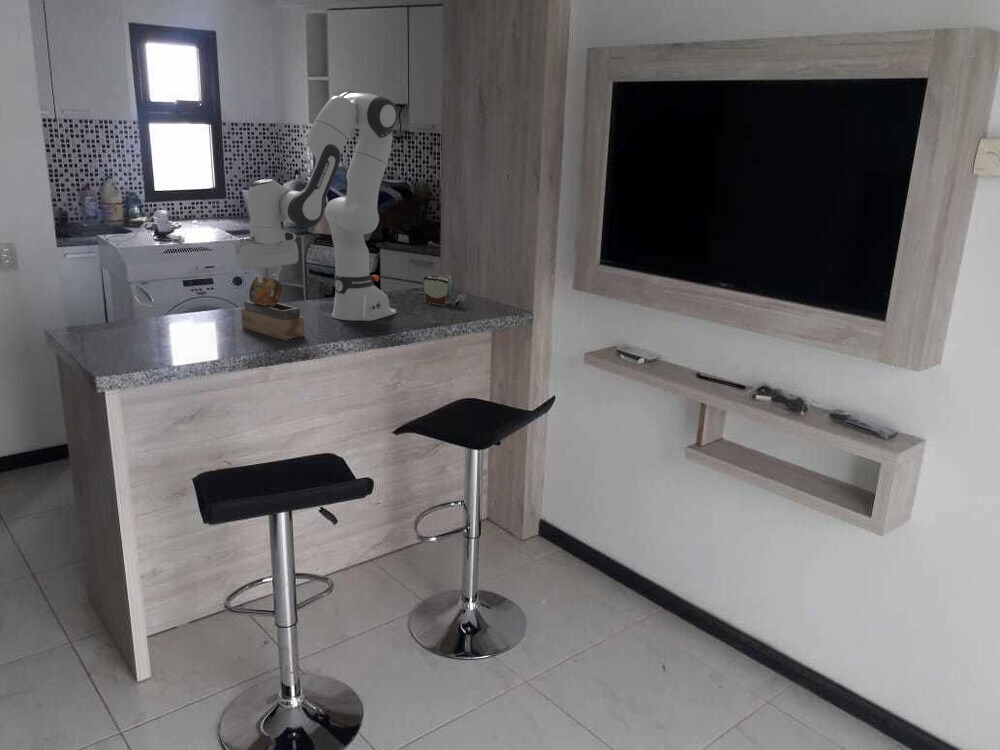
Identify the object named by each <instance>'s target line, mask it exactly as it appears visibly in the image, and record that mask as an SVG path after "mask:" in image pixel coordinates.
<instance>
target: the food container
mask: <svg viewBox="0 0 1000 750" xmlns="http://www.w3.org/2000/svg"><path fill="white" fill-rule="evenodd" d="M421 278H422V279H421V281H422V282H423V293H424V302H428V303H427V304H431V303H432V304H433V305H436V306H444V307H447V306H449V301H450V293H451V285H452V284H453V279H452V277H451V276H450V275H447V274H446V275H445V274H424V275H422V277H421Z"/></svg>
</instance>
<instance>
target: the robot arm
mask: <svg viewBox="0 0 1000 750" xmlns="http://www.w3.org/2000/svg"><path fill="white" fill-rule="evenodd" d="M397 116H398V113H397V107H396V105H395V104H394V102H393V101H392V100H391V99H389V98H386V97H384V96H381V95H380V96H379V95H377V94H373V93H369V92H355V91H346V92H343V93H340V94H339V95H335V96H333V97H331V98H329V100H328V101H327V102H326V103H325V104H324V106H323V107H322V108H321V110H320V111H319V113H318V114H317V116H316V118H315V120H313V121H314V122H312V123H313V124H312V125H311V126H310V129H309V132H308V134H307V135H308V136H307V139H306V143H307V147H308V149H309V151H310V153H311V154H312V155H313V156H314V159H315V165H314V167H313V169H312V173H311V175H310V178H309V180H308V181H307V184H306V187H304V189H302V190H301V191H298V190H294V189H291V188H288V187H287V186H284V185H282V184H280V183H278V182H277V181H276V179H274V178H264V179H263V178H262V179H257V180H255V181H253V182H251V183H250V185H249V188H248V194H247V195H248V196H247V199H248V200H247V203H248V208H247V209H248V213H249V217H250V220H249V235H250V236H249V237H247V236H246V237H241V238H238V240H236V241H235V243H234V249H235V253H234V266H235V268H236V269H237V270H238V271H239V270H240V271H251V270H253V271H254V274H255V275H256V278H257V277H258V282H259V283H265V282H266V280H265V279H266V278H267V277H266V276H263V274H262V272H263V269H264V268H272V267H273V269H274V272H273V274H271V279H273V280H276V281H278V282H279V279H280V277H279V276H280V274H281V271H282V269H283V268H282V267H283V266H287V265H293V264H294V265H295V264H297V263H298V262H299V248H298V244H297V241H295V240H296V239H297V235H296V233H294V232H291V231H289V230H285V229H282V228H281V227H282V226H281V225H282V224H281V223H282V222H287V223H290V224H294V225H296V226H299V227H301V228H303V229H304V228H305V229H310V228H313V227H315V226H316V225H318V224H319V223H320V222H321V220H322V218H323V217H324V216H325V219H326V221H327V224H328V226H329V231H330V235H331V239H332V243H333V244H332V245H333V249H334V263H335V264H334V265H335V274H334V276H333V277H334V281H333V283H334V290H335V293H334V294H335V295H334V302H333V309H332V313H331V317H332V318H333V319H336V320H341V321H368V322H371V321H372V322H373V321H376V320H379V319H382V318H386V317H389V316H393V315H396V314H397V310H396V309H394V308H392V307H390V299H389V296H388V295H387V294H386V293H384V292H383V291H382V290H380V289H379V288H378V287H377V286H376V285H374V281H375V282H379V280H380V277H379V275H376V274H372V275H371V274H370V252H369V248H368V246H367V244H366V241H365V237H364V235H368V234H371V233H372V232H374V231H375V230H376V229H377V228H378V226H379V222H380V215H379V212H378V201H379V192H380V187H381V185H382V184H381V183H382V180H383V177H384V174H385V171H386V168H387V165H388V162H389V158H390V154H391V149H392V143H393V135H392V131H393V129H394V127H395V125H396V122H397ZM354 129H357V130H359V139H358V141H357V143H356V145H355V148H354V151H353V154H352V158H351V160H350V163H349V165H348V169H347V172H346V180H347V188H346V196H339V197H337V198H333V199H331V200H329V202H328V203H327V205H326V199H327V195H328V193H329V191H330V188H331V186H332V184H333V182H334V180H335V179H334V178H335V176H336V174H337V172H338V169H339V165H340V162H341V157H342V153H343V151H344V148H345V146H346V144H347V142H348V140H349V139H350V136H351V134H352V131H353V130H354ZM325 205H326V206H325Z"/></svg>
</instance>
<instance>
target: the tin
mask: <svg viewBox="0 0 1000 750" xmlns="http://www.w3.org/2000/svg"><path fill="white" fill-rule="evenodd" d="M271 278H272V277H271ZM271 278H270V277H269V278H268V277H266V279H265V280H266V282H265V283H259V282H258V277H257V276H256V277H255V279H254V280H253V281H252V283H251V285H250V289H249V301H250V300H251V302H252V303H256V304H260V305H263V306H268V307H273V306H275V305H276V304H277V303H279V300H280V297H281V294H282V290H283V289H282V288H283V287H282V284H281V283H280V282H279V280H278V281H276V280H273V279H271Z"/></svg>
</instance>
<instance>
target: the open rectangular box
mask: <svg viewBox="0 0 1000 750" xmlns="http://www.w3.org/2000/svg"><path fill="white" fill-rule="evenodd" d="M243 304H244V307H243V308H242V307H241V308H240V309H241V326H242V327H243V329H246V330H249V329H250V330H249V331H253V332H256V333H259V334H263V335H265V336H269V337H273V338H275V337H276V339H278V338H280V339H279V340H282V339H283V340H282V341H289V340H288V339H290V340H293V339H292V338H295V339H298V338H297V337H299V338H303V337H302V336H304V337H305V324H304V323H305V322H304V321H305V320H304V317H303V316H301V315H300V313H301V312H300V308H299V307H295V306H292V305H288V304H284V303H280V302H278V303H277V304H276V305H275V306H273V307H268V306H263V305H260V304H256V303H252V302H251V300H250V299H249V300H245V301H243ZM242 327H241V328H242Z"/></svg>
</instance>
